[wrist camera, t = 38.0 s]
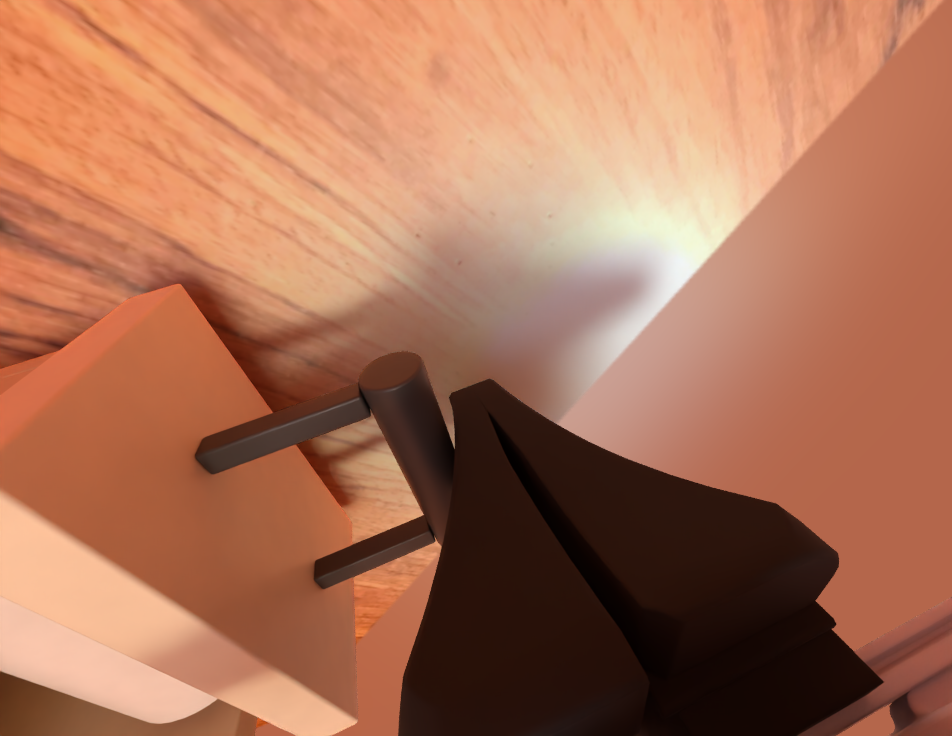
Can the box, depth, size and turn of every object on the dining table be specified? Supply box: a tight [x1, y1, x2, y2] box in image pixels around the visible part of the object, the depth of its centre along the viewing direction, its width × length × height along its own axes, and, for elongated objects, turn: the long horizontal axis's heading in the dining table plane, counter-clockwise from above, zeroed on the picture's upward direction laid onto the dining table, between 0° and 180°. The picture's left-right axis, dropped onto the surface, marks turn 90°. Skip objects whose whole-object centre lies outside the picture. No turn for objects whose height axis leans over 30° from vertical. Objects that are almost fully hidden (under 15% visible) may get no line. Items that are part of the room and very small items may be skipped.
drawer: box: [0, 284, 455, 736], centre depth 9 cm, size 17×10×6 cm, turn 103°
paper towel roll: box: [0, 596, 218, 724], centre depth 9 cm, size 4×7×4 cm, turn 13°
